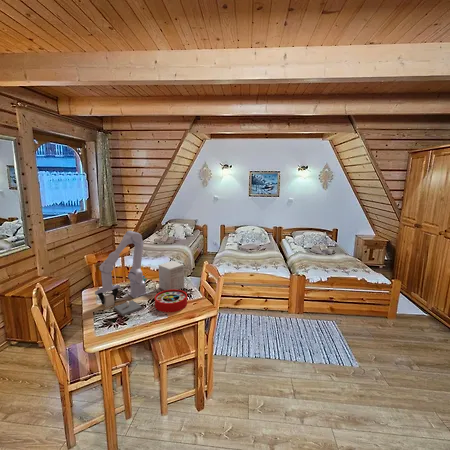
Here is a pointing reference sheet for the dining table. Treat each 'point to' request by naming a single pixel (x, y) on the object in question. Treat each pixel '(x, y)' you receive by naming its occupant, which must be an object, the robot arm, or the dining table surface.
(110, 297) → the block
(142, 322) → the dining table surface
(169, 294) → the toy clock
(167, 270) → the supplement box
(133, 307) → the stub plate
